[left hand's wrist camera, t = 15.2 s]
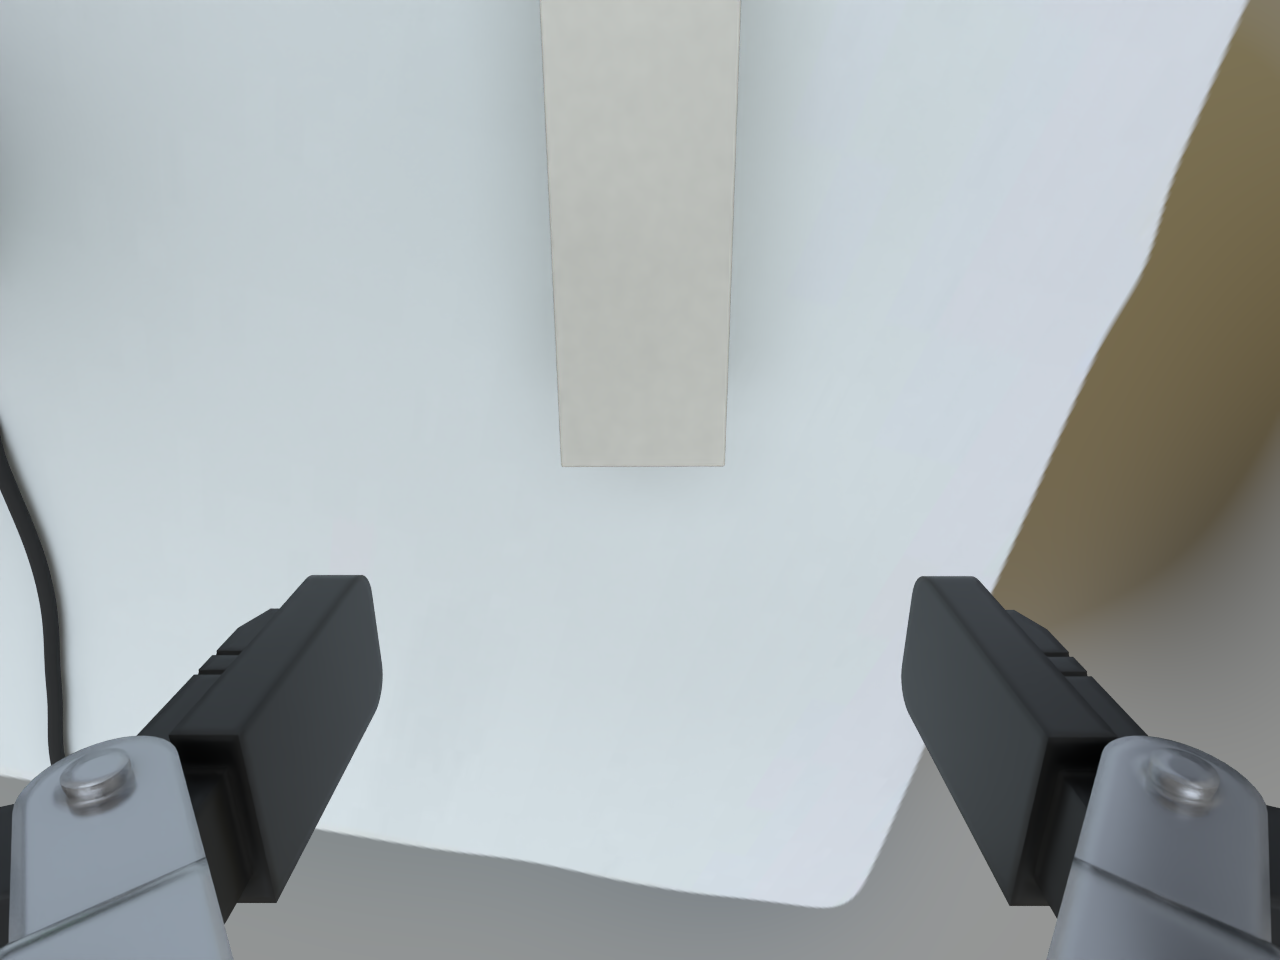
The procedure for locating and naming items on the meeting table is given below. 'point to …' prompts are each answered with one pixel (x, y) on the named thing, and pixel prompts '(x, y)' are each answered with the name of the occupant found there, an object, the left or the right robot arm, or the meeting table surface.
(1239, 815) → the left robot arm
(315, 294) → the meeting table surface
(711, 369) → the box
